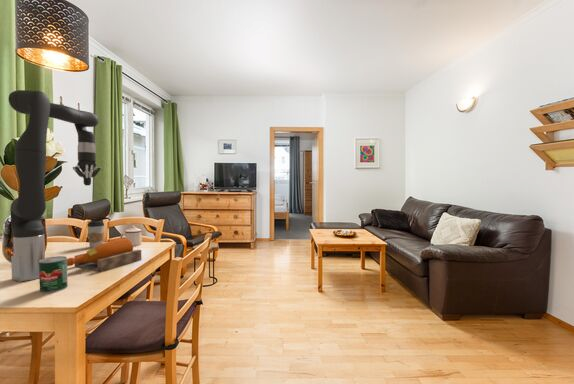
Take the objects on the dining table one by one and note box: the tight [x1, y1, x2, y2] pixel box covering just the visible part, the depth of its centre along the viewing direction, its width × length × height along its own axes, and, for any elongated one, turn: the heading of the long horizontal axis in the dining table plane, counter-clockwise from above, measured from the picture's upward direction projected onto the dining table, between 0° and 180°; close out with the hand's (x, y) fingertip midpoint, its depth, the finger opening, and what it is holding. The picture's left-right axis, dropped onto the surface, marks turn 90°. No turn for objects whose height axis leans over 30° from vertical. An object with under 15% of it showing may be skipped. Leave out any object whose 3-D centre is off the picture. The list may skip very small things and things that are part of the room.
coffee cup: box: [87, 220, 105, 249], centre depth 163 cm, size 8×8×15 cm
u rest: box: [74, 249, 142, 273], centre depth 132 cm, size 20×18×5 cm
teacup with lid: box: [119, 225, 143, 247], centre depth 169 cm, size 12×9×12 cm
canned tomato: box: [38, 255, 69, 294], centre depth 100 cm, size 8×8×11 cm
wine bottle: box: [67, 238, 134, 267], centre depth 126 cm, size 10×10×30 cm
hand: (87, 185), depth 143 cm, fingers closed
